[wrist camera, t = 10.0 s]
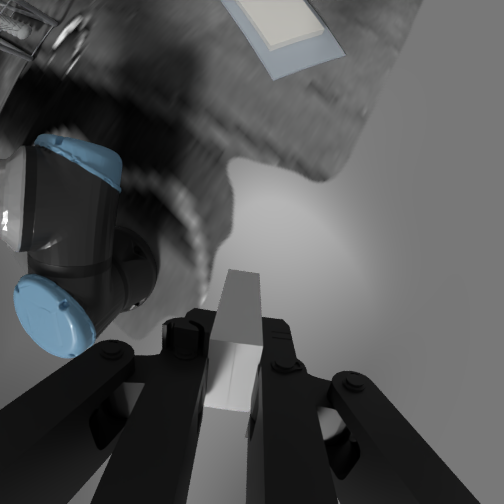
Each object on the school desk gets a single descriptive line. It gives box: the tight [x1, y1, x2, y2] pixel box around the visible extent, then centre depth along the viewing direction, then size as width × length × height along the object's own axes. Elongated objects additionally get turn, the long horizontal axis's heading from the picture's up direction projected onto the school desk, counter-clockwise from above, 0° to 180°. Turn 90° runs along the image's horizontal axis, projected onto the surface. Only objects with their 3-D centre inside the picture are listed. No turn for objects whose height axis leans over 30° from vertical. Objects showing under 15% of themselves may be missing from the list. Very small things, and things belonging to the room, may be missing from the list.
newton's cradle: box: [0, 0, 58, 61], centre depth 26 cm, size 30×10×18 cm, turn 53°
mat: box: [221, 0, 346, 81], centre depth 37 cm, size 20×14×1 cm
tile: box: [235, 0, 325, 51], centre depth 35 cm, size 2×10×14 cm
